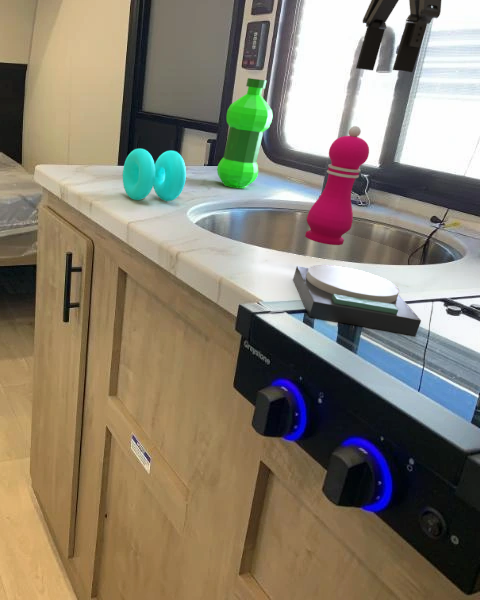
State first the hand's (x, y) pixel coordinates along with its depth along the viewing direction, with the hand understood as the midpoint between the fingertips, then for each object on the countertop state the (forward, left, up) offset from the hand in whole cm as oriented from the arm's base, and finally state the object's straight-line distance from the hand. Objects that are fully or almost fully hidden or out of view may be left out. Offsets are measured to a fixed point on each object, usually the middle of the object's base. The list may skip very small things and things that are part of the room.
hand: (382, 70), depth 96 cm
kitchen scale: (+4, +34, -29) cm, 45 cm away
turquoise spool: (+34, -10, -29) cm, 46 cm away
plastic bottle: (+15, -43, -29) cm, 54 cm away
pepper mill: (+2, +4, -29) cm, 29 cm away
